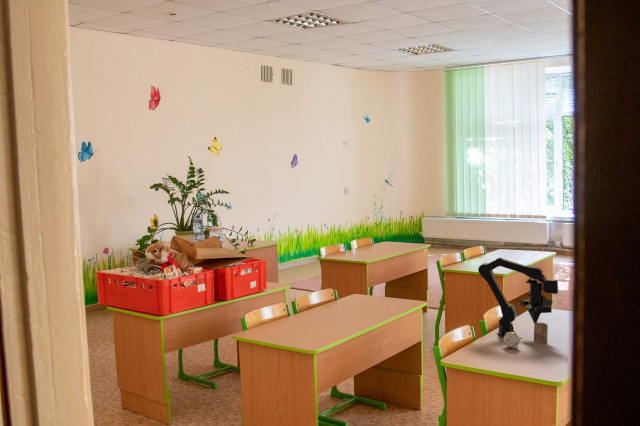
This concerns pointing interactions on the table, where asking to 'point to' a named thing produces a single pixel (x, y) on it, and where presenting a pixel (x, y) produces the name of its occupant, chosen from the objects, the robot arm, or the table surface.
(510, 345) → the game die
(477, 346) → the table surface
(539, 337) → the brown rectangular block
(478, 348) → the table surface
